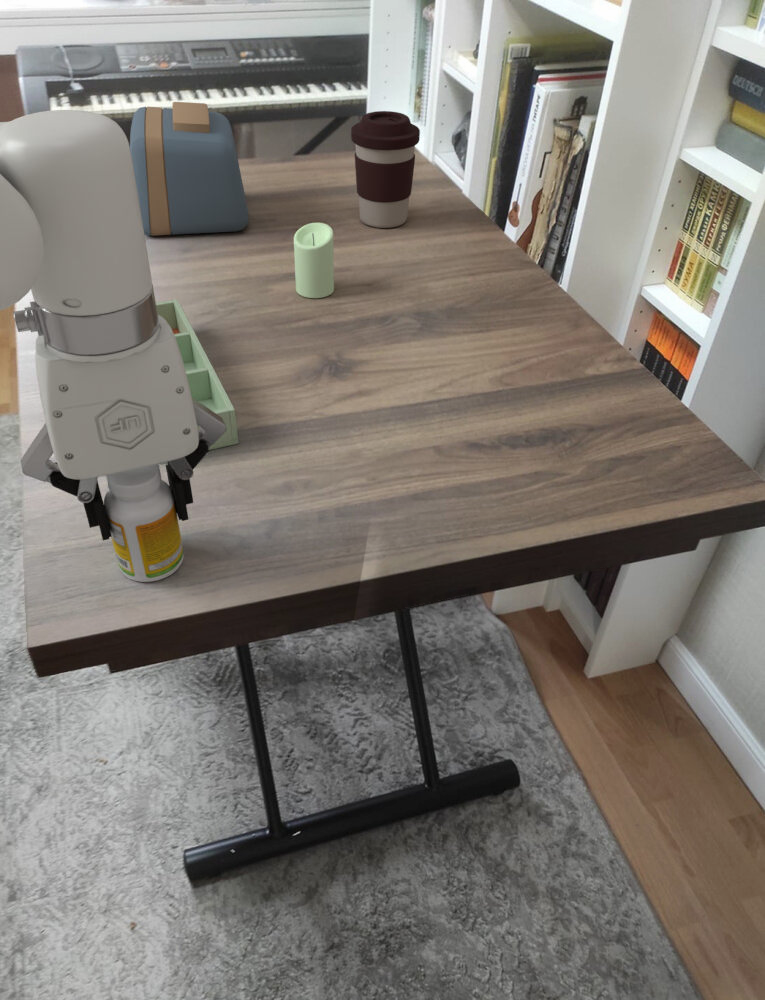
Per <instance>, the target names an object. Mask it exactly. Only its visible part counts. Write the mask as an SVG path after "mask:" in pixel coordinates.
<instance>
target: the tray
mask: <svg viewBox="0 0 765 1000" xmlns="http://www.w3.org/2000/svg"><path fill="white" fill-rule="evenodd" d="M156 308H157V314H158V315H160V316H161V317H163V318H164V319H165V320H166V321H167V323H168V324H169V325H170V327H171V329H172V331H173V333H174V336H175V338H176V341H177V344H178V347H179V350H180V353H181V356H182V359H183V363H184V367H185V371H186V375H187V379H188V383H189V388H190V392H191V397H192V398H194V399H195V400H197V401H198V402H200V403H201V404H203V405H204V406H206V407H207V408H209V409H210V410H212V411H213V412H215V413H216V414H217V415H219V416H220V417H221V418H222V419H223V421H224V423H225V425H226V428H227V430H226V432H225V433H224V434H223V435H222V436H221V437H220V438H219V439H218V440H217V441H216V442H215V443H214V444H213V445H211V446H210V447H209V450H208V451H212V450H215V449H221V448H225V447H230V446H234V445H238V444H239V436H238V435H239V433H238V425H237V417H236V415H237V414H236V409H235V407H234V405H233V404H232V401H231V400H230V397H229V395H228V394H227V391H226V390H225V388H224V386H223V384H222V382H221V380H220V379H219V376H218V374H217V372H216V371H215V369H214V366H213V365H212V362H211V361H210V359H209V357H208V355H207V353H206V351H205V349H204V348H203V346H202V343H201V342H200V340H199V337H198V336H197V334H196V332H195V330H194V328H193V326H192V324H191V323H190V320H189V319H188V316H187V315H186V313H185V311H184V309H183V307H182V304H181V303H180V301H179V300H178V299H173V300H166V301H160V302H156ZM199 428H200V426H199V425H197V429H199ZM185 431H186V430H185Z"/></svg>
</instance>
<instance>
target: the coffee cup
mask: <svg viewBox="0 0 765 1000" xmlns="http://www.w3.org/2000/svg"><path fill="white" fill-rule="evenodd" d="M350 131H351V132H350V139H351V141H352V143H354V144H355V152H354V168H355V180H356V193H357V195H358V208H359V218H360V221H361V222H362V223H363V224H364V225H367V226H369V227H373V228H379V229H392V228H397V227H400V226H402V225H403V224H405V223H406V222H407V219H408V214H409V205H410V203H409V202H410V196H411V195H412V189H413V180H414V170H415V161H416V154H415V148H416V146H417V145H418V144H419V142H420V139H421V137H420V135H421V129H420V128H419V127H418V126H417V125H415V124H414V123H411V119H410V117H409V116H408V115H407V114H404V113H401V112H399V111H390V110H377V111H371V112H368V113H367V112H366V113H365V114H364V115H362V116H361V119H360V121H359V122H357V123H355V124H353V126H352V127H351V128H350Z"/></svg>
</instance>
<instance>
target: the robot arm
mask: <svg viewBox="0 0 765 1000" xmlns="http://www.w3.org/2000/svg"><path fill="white" fill-rule="evenodd" d="M129 142H130V141H129V140H128V137H127V135H126V133H125V131H124V130H123V129H122V127H121V126H120V125H119V124H118V123H117V122H116V121H114V120H113V119H112V118H110V117H108V116H107V115H104V114H100V113H97V112H93V111H87V110H81V109H54V110H46V111H45V110H43V111H39V112H34V113H29V114H25V115H23V116H20V117H19V116H18V117H17V118H14V119H13V120H10V121H0V312H1V311H4V310H6V309H9V308H10V307H12V306H14V305H16V304H17V303H18V302H19V303H20V301H21V300H22V299H23V298H25V296H26V295H28V294H29V293H30V292H31V294H32V297H33V300H34V301H30V302H29V304H30V306H26V307H24V309H23V310H17V311H16V310H15V311H12V314H13V318H14V323H15V327H16V330H17V333H24V332H30V333H35V332H37V337H36V338H35V370H36V379H37V384H38V385H37V386H38V392H39V398H40V402H41V407H42V411H43V415H44V420H45V423H44V424H43V426H42V427H41V429H40V430H39V432H38V434H37V435H36V436H35V438H34V439H33V441H32V442H31V444H30V445H29V447H28V448H27V450H26V451H25V453H24V454H23V456H22V457H21V459H20V464H21V471H22V474H23V475H24V476H26V477H29V478H32V479H35V480H38V481H41V482H44V483H48V484H51V486H52V487H53V488H56V489H58V490H60V491H63V492H65V493H68V494H70V495H72V496H74V497H77V501H79V502H80V503H82V504H83V507H84V511H85V514H86V515H85V516H86V518H87V522H88V526H89V528H95V527H99V530H100V534H101V537H102V538H101V539H102V541H108V540H110V538H111V537H112V536H111V532H110V528H109V524H108V520H107V516H106V511H105V507H104V499H103V497H102V496H103V495H102V492H101V488H100V485H99V481H98V478H100V477H104V476H105V477H106V475H110V474H114V473H119V472H123V471H128V470H132V469H137V468H141V467H146V466H150V465H155V464H158V465H159V464H163V463H167V464H165V470H166V471H165V472H166V476H167V481H168V485H169V486H170V488H171V490H172V492H173V496H174V501H175V507H176V513H177V518H178V521H182V522H184V521H189V514H188V507H187V505H191V504H194V497H193V491H192V484H191V478H192V477H194V469H195V468H196V467H197V466H198V465H199V463H200V462H201V461H202V460H203V459H204V458H205V457H206V455H208V453H209V451H210V450H209V447H210V446H211V445H213V444H214V443H215V442H216V441H217V440H218V439H219V438H220V437H221V436H222V435H223V434H224V433H225V432H226V430H227V428H226V425H225V423H224V421H223V419H222V418H221V417H220V416H219V415H217V414H216V413H215V412H213V411H212V410H210V409H209V408H207V407H206V406H204V405H203V404H201V403H200V402H198V401H197V400H195V399H194V398H192V397H191V392H190V388H189V383H188V379H187V375H186V371H185V367H184V363H183V359H182V356H181V353H180V350H179V347H178V344H177V341H176V338H175V336H174V333H173V331H172V329H171V327H170V325H169V324H168V323H167V321H166V320H165V319H164V318H163V317H161V316H160V315H158V314H157V308H156V303H157V301H156V296H155V291H154V285H153V277H152V271H151V267H150V260H149V254H148V247H147V241H146V235H145V234H144V229H143V223H142V217H141V210H140V204H139V198H138V192H137V186H136V180H135V174H134V168H133V162H132V156H131V151H130V147H129ZM197 425H199V426H200V428H199V429H197ZM185 430H186V431H185ZM53 455H54V458H55V462H53V461H52V460H50V458H51V457H52V456H53Z"/></svg>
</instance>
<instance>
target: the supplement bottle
mask: <svg viewBox="0 0 765 1000" xmlns="http://www.w3.org/2000/svg"><path fill="white" fill-rule="evenodd" d="M160 469H161V468H160V466H159V464H155V465H150V466H146V467H141V468H137V469H132V470H128V471H123V472H119V473H114V474H110V475H105V477H106V482H107V487H108V490H107V492H106V493H105V495H104V498H103V503H104V507H105V511H106V516H107V520H108V524H109V528H110V532H111V536H112V537H110V538H111V541H112V545H113V549H114V553H115V557H116V562H117V564H118V568H119V570H120V572H121V573H122V574H123V575H124V576H125V577H127V578H128V579H130V580H131V581H134V582H141V583H151V582H156V581H160V580H163V579H166V578H168V577H170V576H172V575H173V574H174V573H175V572H176V571H178V569H179V568H180V567H181V565H182V562H183V560H184V547H183V541H182V536H181V530H180V524H179V518H178V515H177V513H176V507H175V501H174V496H173V492H172V490H171V488H170V486H169V483H167V482H166V481H165V480H163V479H162V474H161V470H160Z"/></svg>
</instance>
